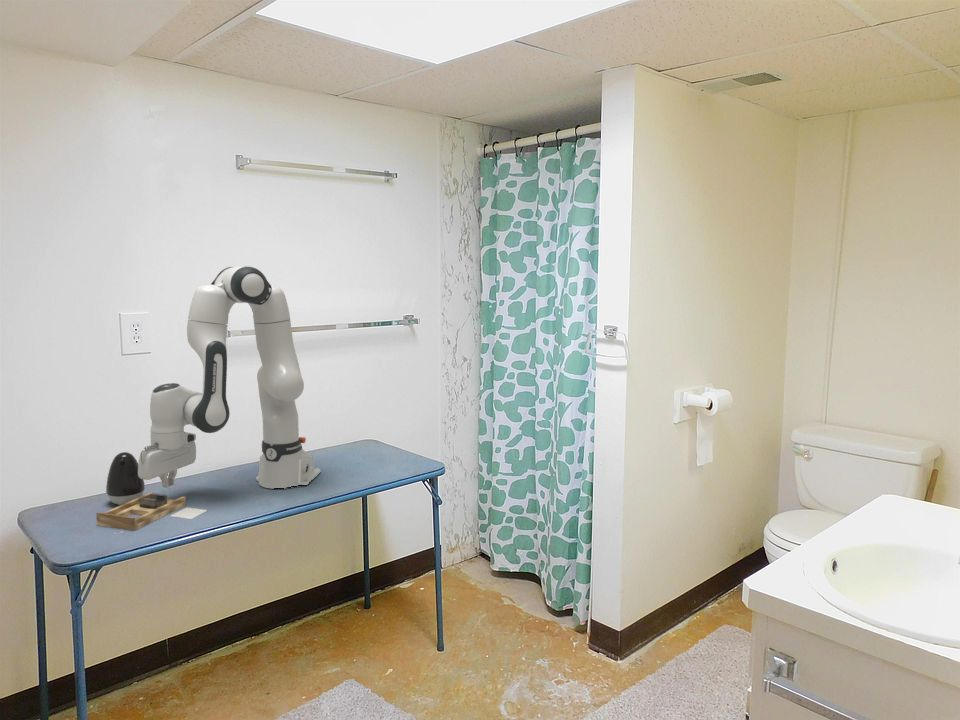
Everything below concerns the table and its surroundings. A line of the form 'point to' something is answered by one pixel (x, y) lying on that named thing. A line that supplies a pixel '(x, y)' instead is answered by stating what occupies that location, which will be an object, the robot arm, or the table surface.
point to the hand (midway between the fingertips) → (168, 486)
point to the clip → (153, 501)
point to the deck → (137, 513)
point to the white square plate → (189, 513)
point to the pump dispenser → (124, 479)
